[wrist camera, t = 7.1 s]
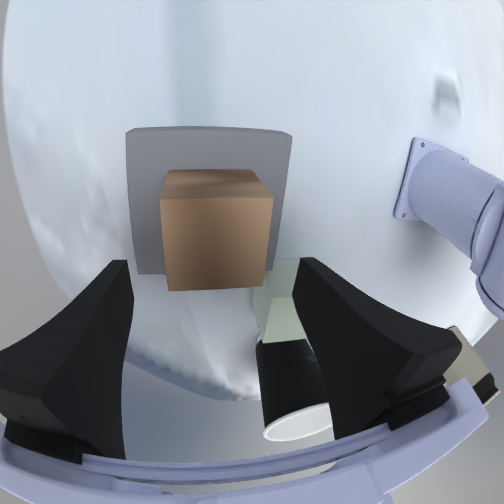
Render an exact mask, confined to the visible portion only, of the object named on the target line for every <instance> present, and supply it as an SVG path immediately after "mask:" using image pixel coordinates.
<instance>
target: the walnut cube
mask: <svg viewBox="0 0 504 504" xmlns="http://www.w3.org/2000/svg"><path fill="white" fill-rule="evenodd" d="M272 207H273V197H272V195H271V194H270V193H269V191H268V190H267V189H266V187H265V186H264V185H263V184H262V182H261V181H260V180H259V178H258V177H257V176H256V175H255V173H254V172H253V171H252V170H251V169H190V170H169V172H168V175H167V178H166V181H165V184H164V187H163V191H162V194H161V197H160V213H161V226H162V238H163V248H164V258H165V267H166V275H167V283H168V290H169V291H188V290H209V289H228V288H244V287H260V286H263V279H264V272H265V264H266V256H267V248H268V240H269V232H270V224H271V215H272Z"/></svg>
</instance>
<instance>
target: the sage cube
mask: <svg viewBox="0 0 504 504" xmlns="http://www.w3.org/2000/svg"><path fill="white" fill-rule="evenodd" d="M299 262H300V258H287V259H274V263H273V269H272V271H265V272H264V279H263V286H260V287H254V290H253V297H252V306H253V310H254V314H255V317H256V321H257V324H258V328H259V332H260V335H261V339H262V342H263V343H271V342H281V341H290V340H298V339H306V338H307V336H306V334H305V331H304V329H303V327H302V324H301V322H300V320H299V317H298V315H297V312H296V309H295V305H294V302H293V298H292V291H293V287H294V283H295V279H296V274H297V270H298V266H299Z"/></svg>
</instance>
